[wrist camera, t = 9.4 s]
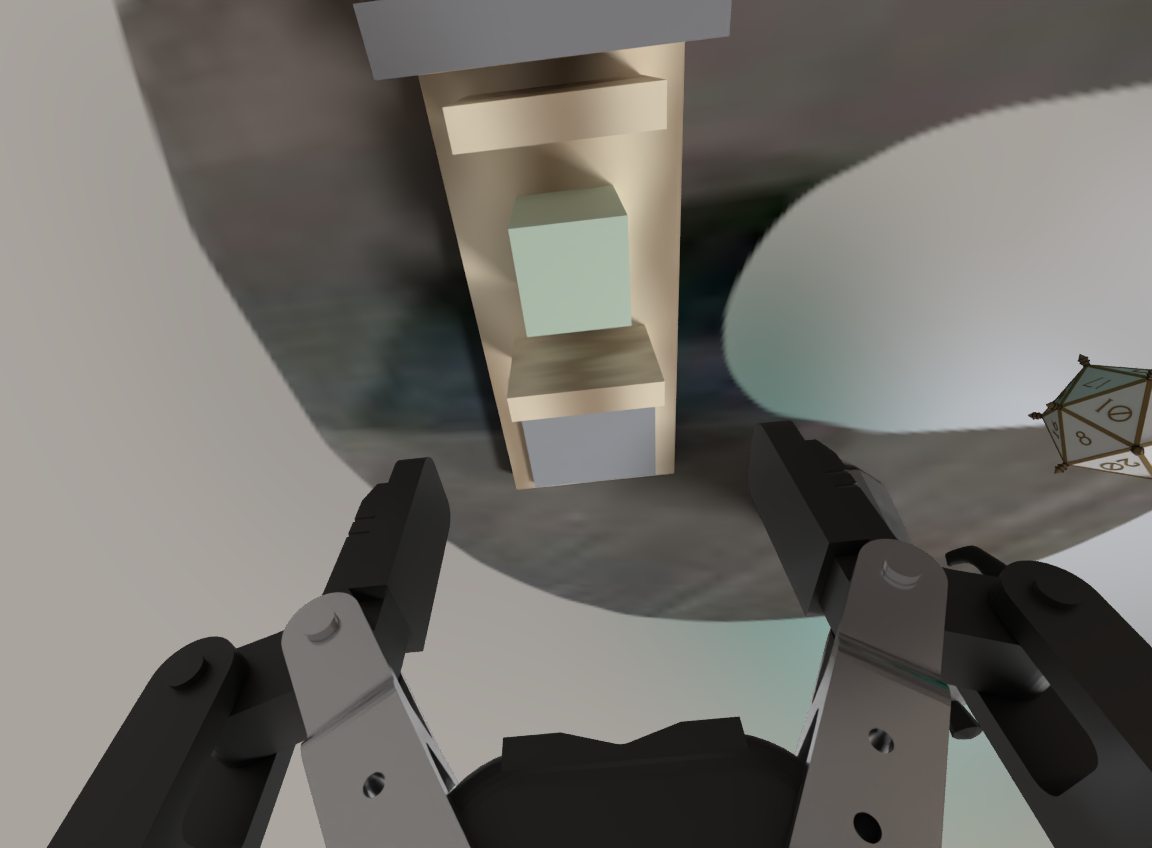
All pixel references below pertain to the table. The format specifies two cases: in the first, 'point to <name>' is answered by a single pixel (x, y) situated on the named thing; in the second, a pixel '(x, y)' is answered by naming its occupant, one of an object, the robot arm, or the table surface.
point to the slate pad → (591, 446)
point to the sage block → (571, 260)
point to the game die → (1103, 420)
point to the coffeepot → (987, 565)
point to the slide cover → (523, 30)
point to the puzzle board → (559, 163)
